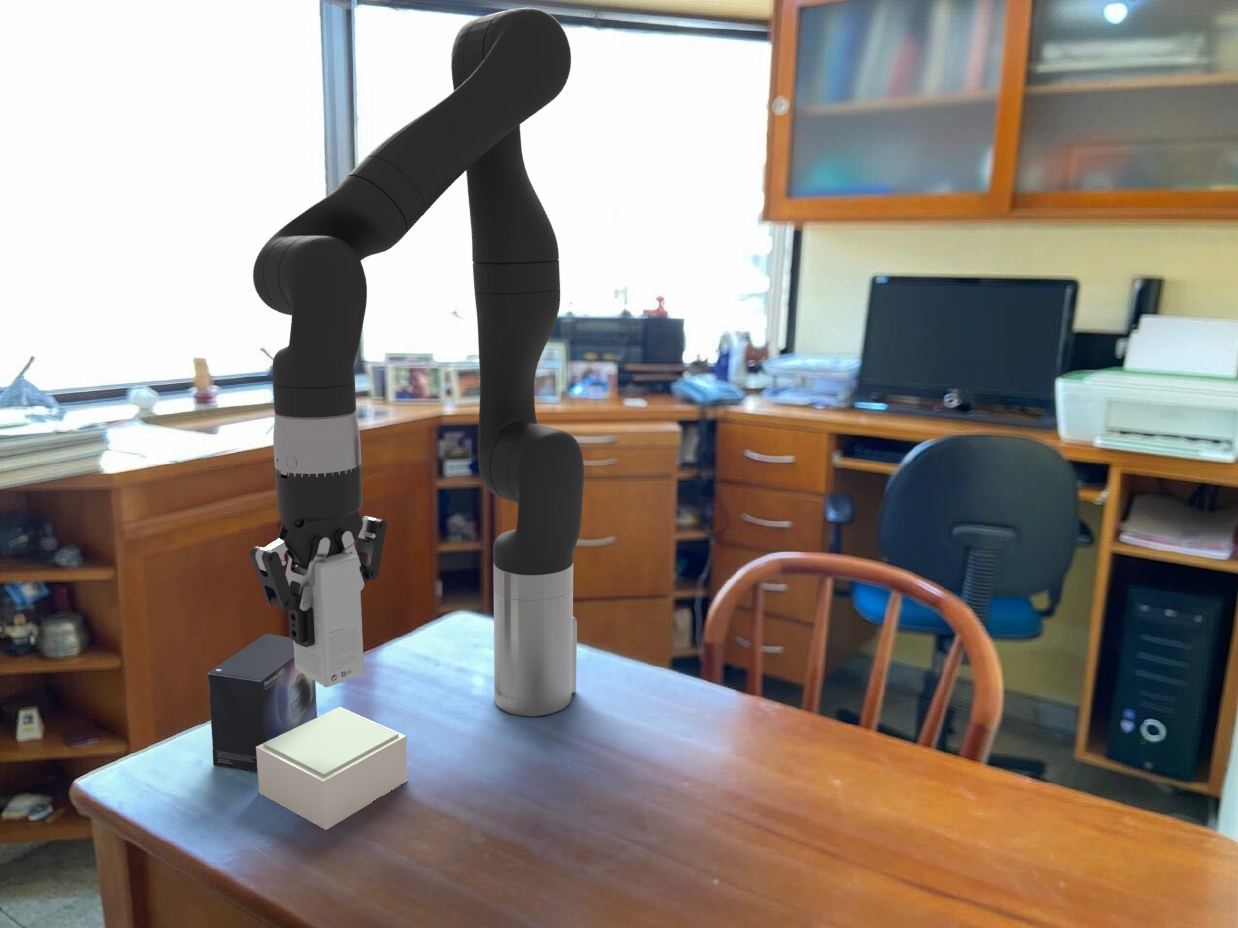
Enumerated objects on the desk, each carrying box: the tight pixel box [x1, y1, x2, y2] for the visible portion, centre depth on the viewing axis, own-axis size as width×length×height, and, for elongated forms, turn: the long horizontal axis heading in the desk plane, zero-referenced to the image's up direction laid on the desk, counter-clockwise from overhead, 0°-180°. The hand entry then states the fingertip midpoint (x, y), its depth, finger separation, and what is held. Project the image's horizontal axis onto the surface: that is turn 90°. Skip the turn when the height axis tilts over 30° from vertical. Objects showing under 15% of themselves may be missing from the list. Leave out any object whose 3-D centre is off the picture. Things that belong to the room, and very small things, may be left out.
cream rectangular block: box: [256, 706, 408, 831], centre depth 90 cm, size 10×10×5 cm
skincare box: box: [293, 553, 365, 688], centre depth 87 cm, size 6×4×12 cm
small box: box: [207, 633, 318, 773], centre depth 97 cm, size 11×6×10 cm, turn 168°
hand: (327, 634), depth 87 cm, fingers closed on skincare box, 4 cm apart
